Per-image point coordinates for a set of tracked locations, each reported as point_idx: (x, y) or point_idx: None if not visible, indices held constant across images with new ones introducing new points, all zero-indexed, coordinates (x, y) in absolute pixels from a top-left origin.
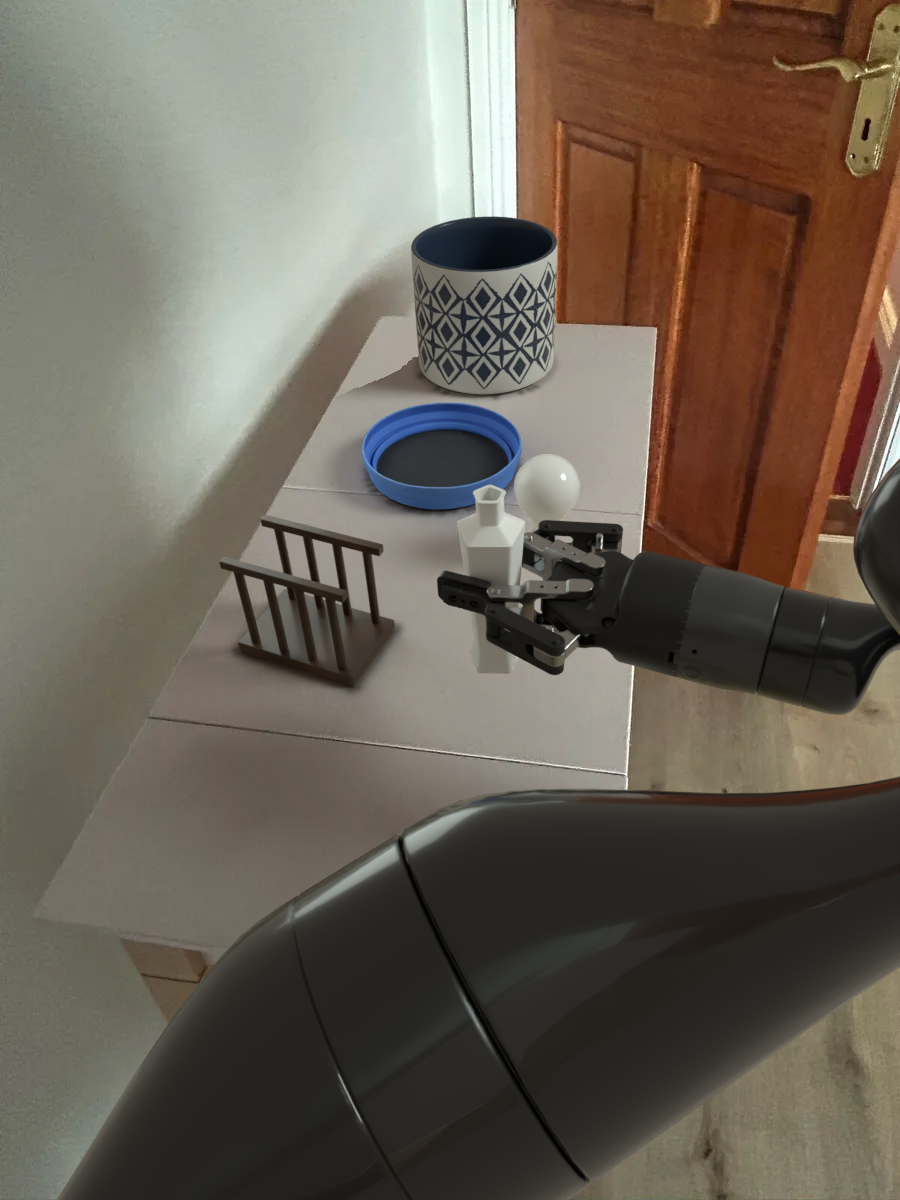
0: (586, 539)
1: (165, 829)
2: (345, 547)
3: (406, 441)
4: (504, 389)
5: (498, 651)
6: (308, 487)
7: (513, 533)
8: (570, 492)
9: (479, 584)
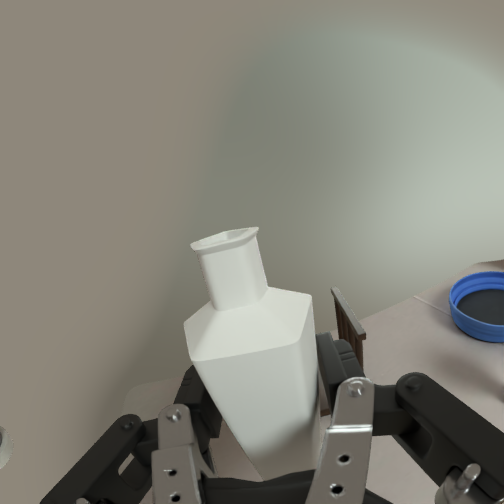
0: (452, 458)
1: (168, 400)
2: (349, 324)
3: (485, 291)
4: None
5: None
6: (420, 298)
7: (232, 344)
8: None
9: (189, 392)
